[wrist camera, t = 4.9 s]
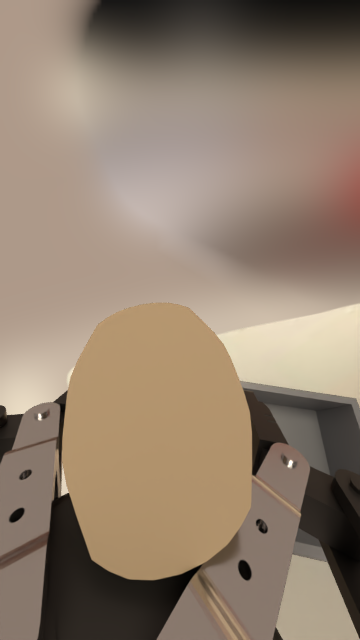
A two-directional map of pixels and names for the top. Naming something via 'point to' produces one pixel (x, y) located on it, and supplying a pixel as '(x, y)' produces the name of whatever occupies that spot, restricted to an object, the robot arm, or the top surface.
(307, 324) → the top surface
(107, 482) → the handle
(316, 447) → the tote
